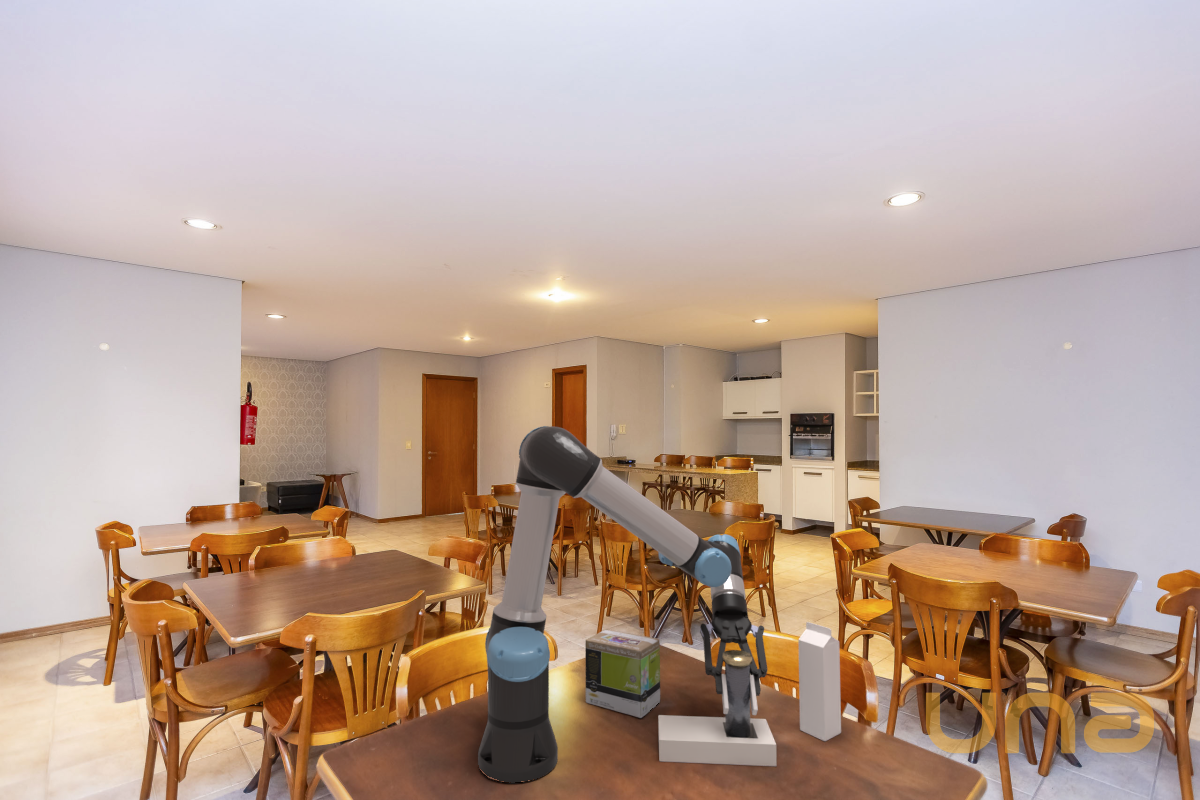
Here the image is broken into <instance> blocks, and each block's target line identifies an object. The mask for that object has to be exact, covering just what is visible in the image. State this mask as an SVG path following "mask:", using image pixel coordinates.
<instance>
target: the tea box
mask: <svg viewBox="0 0 1200 800" xmlns="http://www.w3.org/2000/svg"><path fill="white" fill-rule="evenodd" d="M584 645H585V646H584V647H585V659H584V660H585V703H587V704H589V705H593V706H597V707H602V708H604V709H607V710H611V711H614V712H619V713H622V714H625V715H629V716H633V717H636V718H639V719H642V718H644V716H646V715H647V714H648V713H650V712H651V711H652V710H653V709H654V708H656V707H657V706H658V705H659V704H660V702H661V652H660V650H661V649H660V645H661V644H660V639H659V638H656V637H652V636H646V635H645V636H644V635H639V634H636V633H635V634H634V633H630V632H625V631H619V630H614V629H608V628H606V629H604V630H602V631H600V632H598V633H596V634H594V635H593V636H590V637H588V638H586V639H585V643H584ZM658 703H659V704H658ZM657 704H658V705H657ZM656 705H657V706H656ZM652 708H653V709H652ZM651 709H652V710H651ZM650 710H651V711H650Z"/></svg>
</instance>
